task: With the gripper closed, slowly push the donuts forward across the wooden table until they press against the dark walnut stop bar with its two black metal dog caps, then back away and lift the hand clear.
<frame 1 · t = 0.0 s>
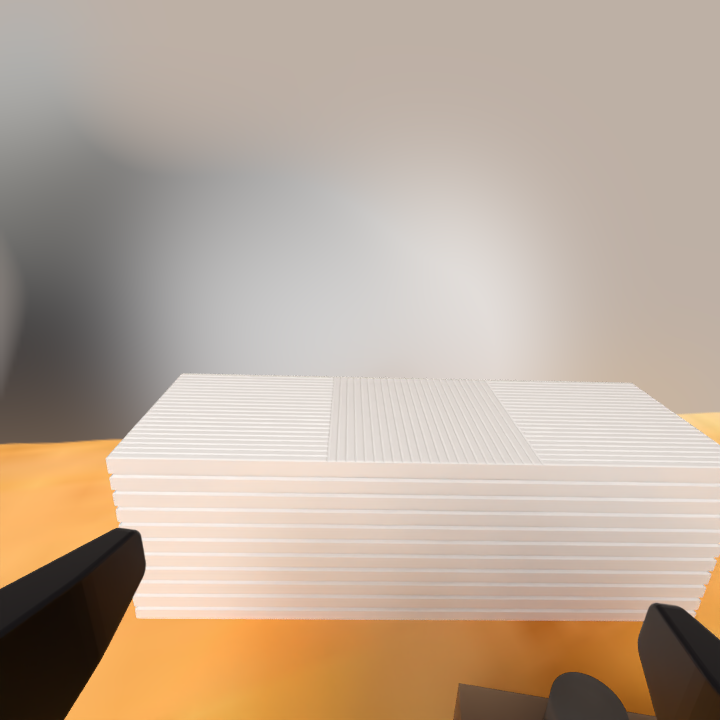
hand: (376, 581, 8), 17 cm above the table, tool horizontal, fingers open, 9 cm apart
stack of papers: (408, 555, 31), on the table
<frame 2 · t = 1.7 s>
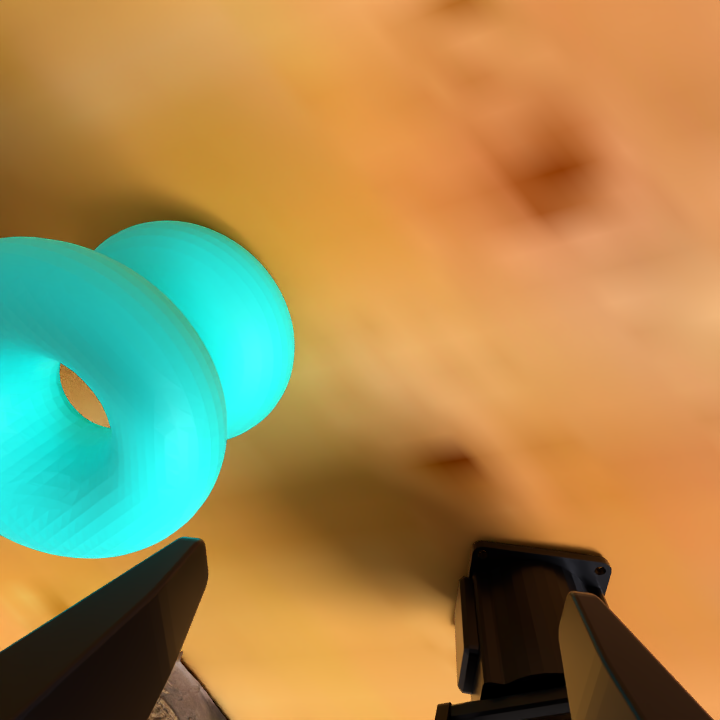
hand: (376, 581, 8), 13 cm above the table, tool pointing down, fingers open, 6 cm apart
donuts: (201, 328, 22), on the table
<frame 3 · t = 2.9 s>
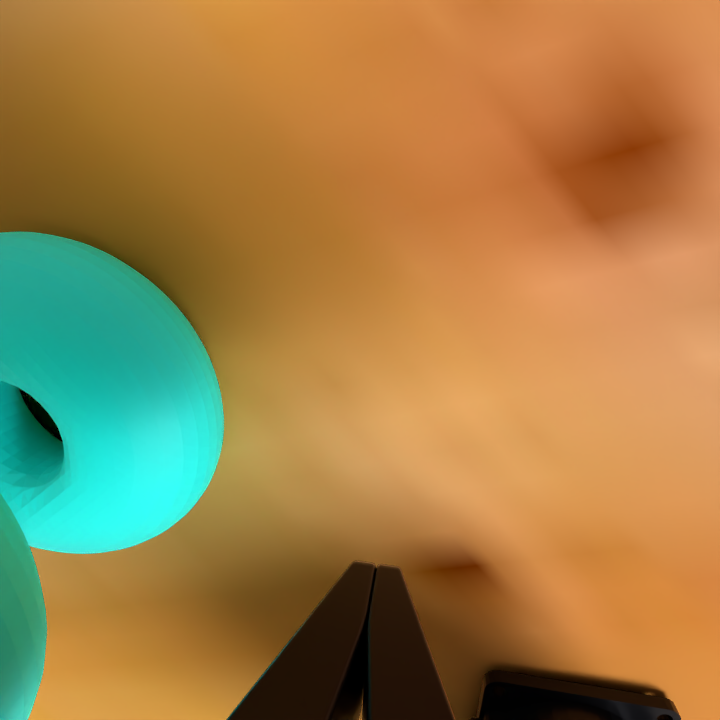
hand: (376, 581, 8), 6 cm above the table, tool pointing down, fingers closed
donuts: (98, 382, 15), on the table
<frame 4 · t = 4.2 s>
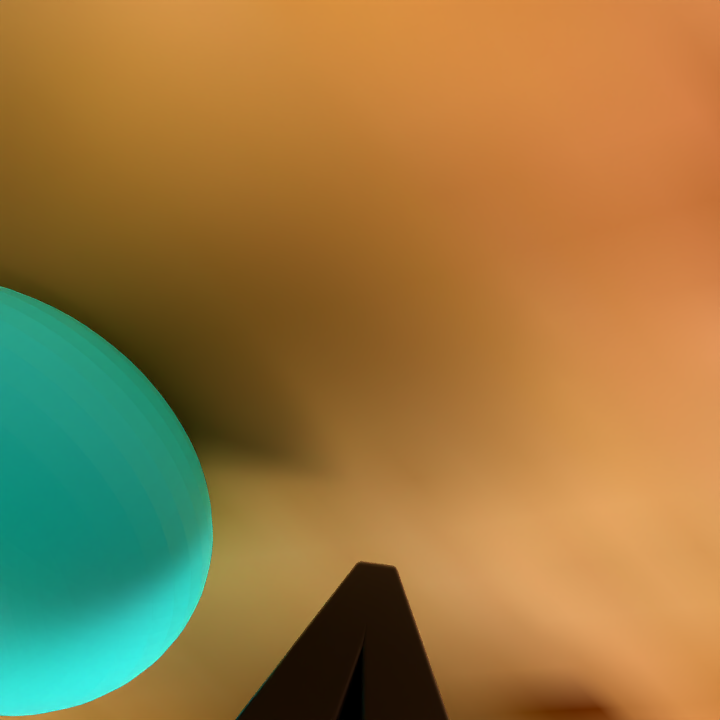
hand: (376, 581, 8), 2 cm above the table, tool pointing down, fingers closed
donuts: (45, 464, 11), on the table, touching gripper
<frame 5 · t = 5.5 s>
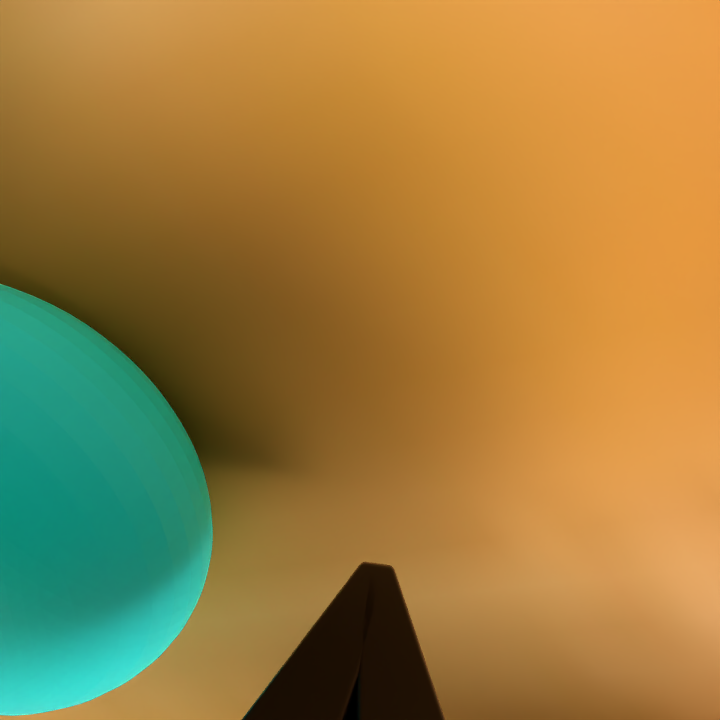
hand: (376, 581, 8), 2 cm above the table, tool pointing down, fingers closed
donuts: (43, 463, 11), on the table, touching gripper, stop bar
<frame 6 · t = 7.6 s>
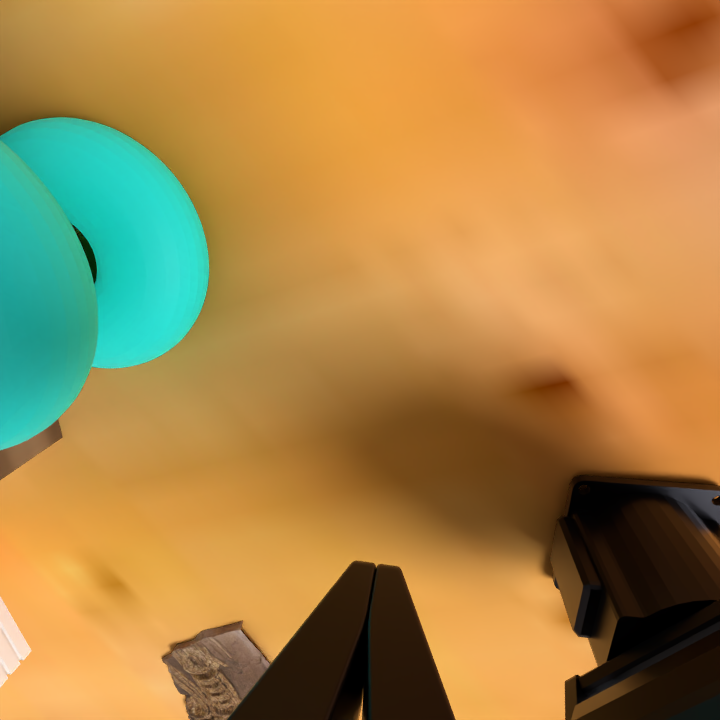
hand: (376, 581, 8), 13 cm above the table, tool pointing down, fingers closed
donuts: (115, 248, 21), on the table
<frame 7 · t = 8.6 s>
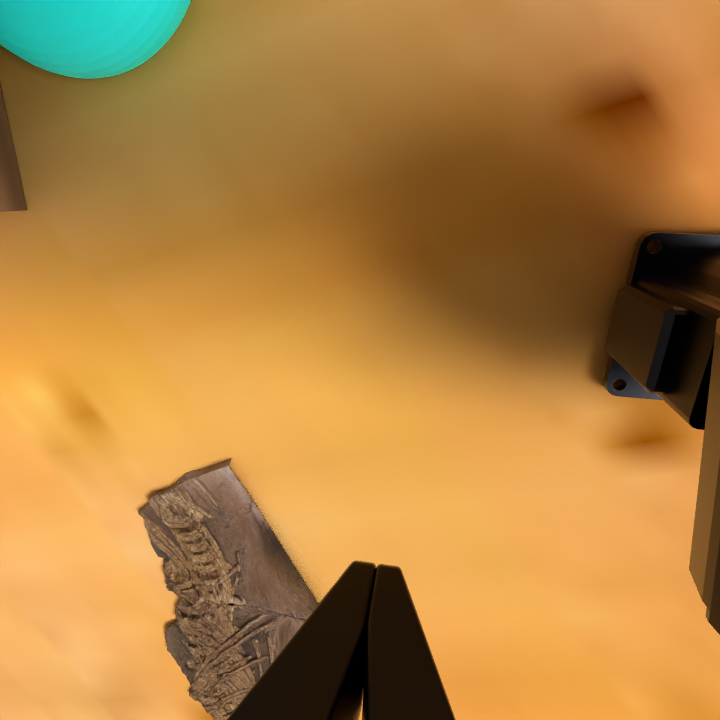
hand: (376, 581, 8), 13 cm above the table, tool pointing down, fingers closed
wooden fragment: (251, 631, 29), on the table
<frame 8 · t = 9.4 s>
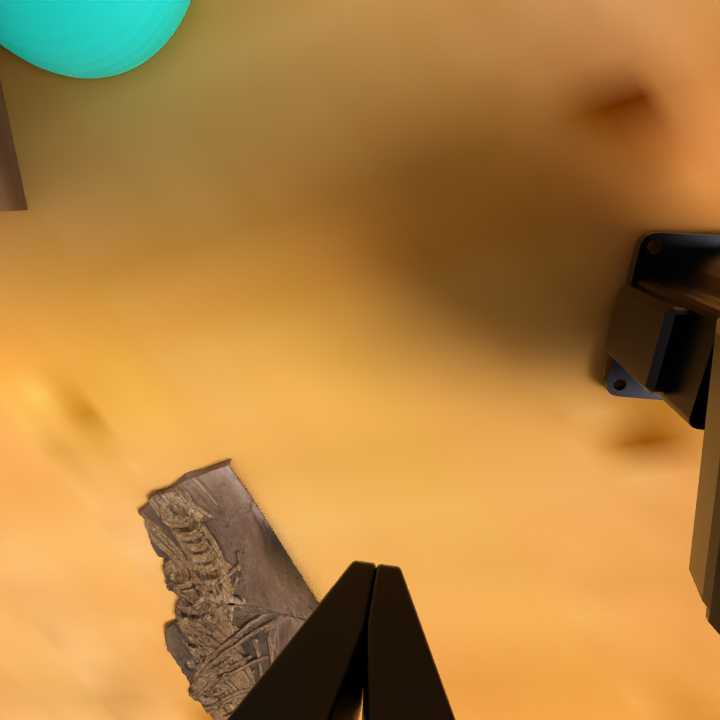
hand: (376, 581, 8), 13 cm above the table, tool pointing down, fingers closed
wooden fragment: (251, 631, 29), on the table
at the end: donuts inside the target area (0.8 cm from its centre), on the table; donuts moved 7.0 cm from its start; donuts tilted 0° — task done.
